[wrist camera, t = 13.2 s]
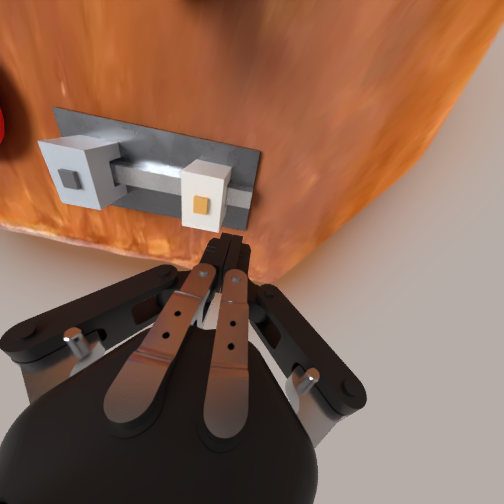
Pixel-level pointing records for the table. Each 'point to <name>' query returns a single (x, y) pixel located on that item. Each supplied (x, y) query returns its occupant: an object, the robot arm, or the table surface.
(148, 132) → the rail
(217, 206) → the block
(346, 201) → the table surface
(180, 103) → the table surface
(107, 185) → the mounted module
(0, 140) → the red disc with nozzle
